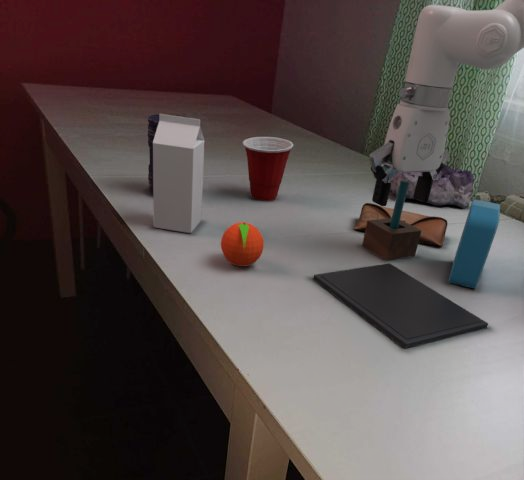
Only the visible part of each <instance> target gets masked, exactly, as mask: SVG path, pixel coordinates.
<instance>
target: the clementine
mask: <svg viewBox="0 0 524 480" xmlns="http://www.w3.org/2000/svg"><path fill="white" fill-rule="evenodd" d="M264 246H265V244H264V237H263V235H262V233H261V232H260V230H259V229H258V228H257V227H256V226H254V225H253V224H251V223H249V222H243V221H242V222H236V223H234V224H231V225H230V226H228V227H227V229H226V230H224V232H223V234H222V237H221V241H220V249H221V252H222V255H223V256H224V258H225V259H226V260H227V261H228V262H229V263H231V264H232V265H233V266H238V267H248V266H251V265H253V264H255V263H256V262H258V260H259V259H260V258H261V256H262V254H263V251H264Z"/></svg>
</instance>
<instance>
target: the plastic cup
mask: <svg viewBox="0 0 524 480" xmlns="http://www.w3.org/2000/svg"><path fill="white" fill-rule="evenodd" d="M242 145H243V147H244V148H245V153H246V158H247V159H246V162H247V171H248V172H247V173H248V181H249V193H250V196H251V198H252V199H254V200H257V201H262V202H263V201H264V202H271V201H275V200H276V199H277V197H278V195H279V190H280V188H281V184H282V181H283V177H284V174H285V171H286V167H287V163H288V159H289V156H290V154H291V151H292V149H293V147H294V144H293V142H292V141H290V140H288V139H285V138H281V137H274V136H254V137H250V138H246V139H244V140H243V141H242Z"/></svg>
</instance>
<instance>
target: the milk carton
mask: <svg viewBox="0 0 524 480" xmlns="http://www.w3.org/2000/svg"><path fill="white" fill-rule="evenodd" d="M172 115H173V114H169V115H165V113H159V124H158V127H157V130H156V134H155V137H154V140H153V195H152V197H153V199H152V200H153V227H154V228H156V229H161V230H162V229H163V230H168V231H173V232H174V231H175V232H180V233H186V234H187V233H188V234H192V232H193V231H194V230H195V229H196V228H197V226H198V225H199V224H200V223H201V222H202V214H203V212H202V211H203V185H204V161H205V159H204V158H205V137H204V134H203V131H202V128H201V119H200V118H194V117H189V118H187V117H188V116H185V117H180V116H181V115H179V116H172Z"/></svg>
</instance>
